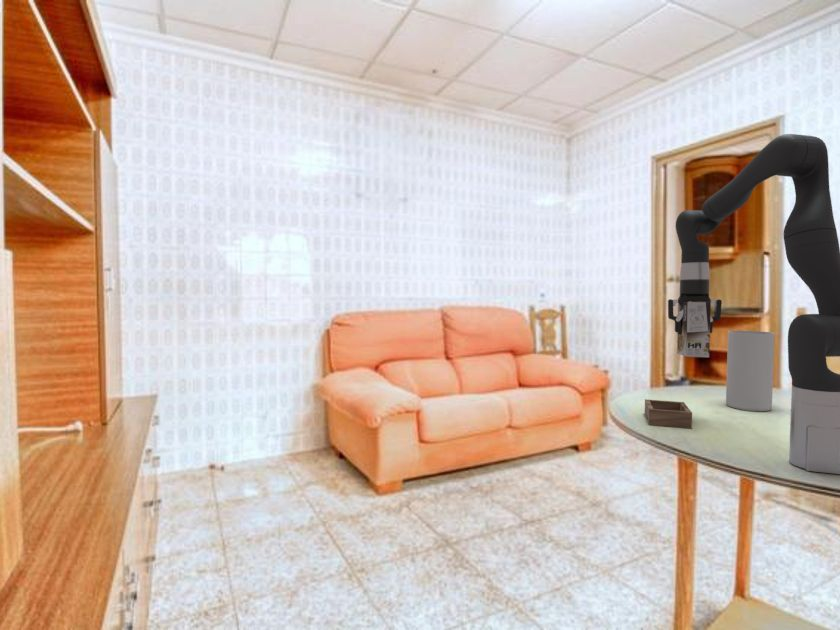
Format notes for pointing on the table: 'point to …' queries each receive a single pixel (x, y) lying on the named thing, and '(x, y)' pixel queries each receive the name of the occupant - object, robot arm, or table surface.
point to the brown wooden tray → (668, 414)
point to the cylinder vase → (750, 370)
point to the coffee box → (694, 329)
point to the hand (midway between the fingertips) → (693, 334)
